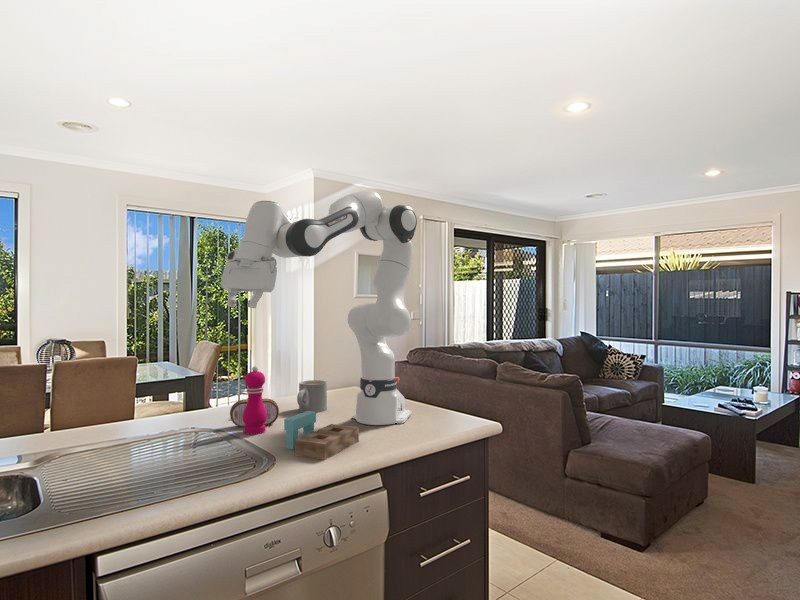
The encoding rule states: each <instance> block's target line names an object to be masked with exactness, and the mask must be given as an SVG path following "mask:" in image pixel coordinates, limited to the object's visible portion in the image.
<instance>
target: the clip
mask: <svg viewBox="0 0 800 600" xmlns="http://www.w3.org/2000/svg"><path fill="white" fill-rule="evenodd" d="M283 421H284V423H283V424H284V426H283V431H285V432H286V434H285V435H286V437H285V438H286V439H285V441H286V443H285V444H286V446H285V447H286V448H285V449H287V450H295V440H296V439H298V438H299V430H300V429H303V430H302V431H303V433H302V437H303V436H305V435H308V434H310V433H312V432H314V431H315V423H317V413H316V412H313V411H306V412H301V413H298V414H296V415H292V416H289V417H287V418H284V420H283Z"/></svg>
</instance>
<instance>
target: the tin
mask: <svg viewBox="0 0 800 600" xmlns="http://www.w3.org/2000/svg"><path fill="white" fill-rule="evenodd" d="M247 402H248V399H247V398H246V399H239V400H238V401H237V400H236V402H235V403H234V404H233V405H232V406H231V407H230V410H229V416H230V420H231V421H232V423H233V424H234V425H235V426H237V427H240V428H244V427H245V426H246V424H245V423H244V422H243V413H244V410H245V408H246V406H247ZM262 402H263V405H264V407H265V409H266V412H267V420H266V421H265V423H264V425H265V426H266V427H267V426H270V425H272V424H274V423H275V422H276V421H277V419H278V417H279V415H280V410H279V405H278V404H277V402H276V401H275V400H273V399H271V398H262Z"/></svg>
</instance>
